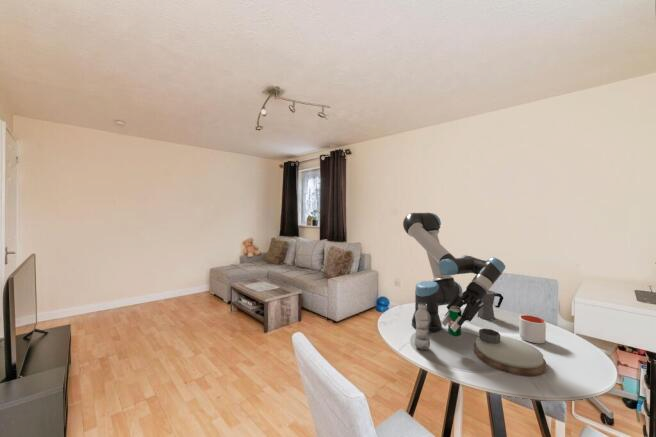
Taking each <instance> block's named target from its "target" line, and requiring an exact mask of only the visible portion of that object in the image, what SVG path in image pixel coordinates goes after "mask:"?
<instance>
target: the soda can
mask: <svg viewBox="0 0 656 437" xmlns="http://www.w3.org/2000/svg"><path fill="white" fill-rule="evenodd" d="M461 309H462V307H461V308H460V307H457V306H450V308H449V322H448V324H447V327H448V329H447V333H448V334H449V335H451V336H452V337H460V336H461V335H462V326H459V328H458V329H457V330H456V331H455V332H454V331H453V330H452V329H451V328H450V327H451V326H452V324H453V323H454V322H455V321H456V319H457V318H458V317H459V316H460V315H462V313H463V312H462V310H461ZM460 317H461V316H460Z"/></svg>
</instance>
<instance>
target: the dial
mask: <svg viewBox="0 0 656 437" xmlns="http://www.w3.org/2000/svg"><path fill="white" fill-rule="evenodd" d="M475 342H476V347H477V349H478V350H479V352H480V353H482V354H483V355H484V356H486V357H488V358H489V359H491V360H494V361H496V362H498V363H501V364H504V365H508V366H512V367H516V368H524V369H533V368H538V367H540V366H542V365H543V358H544V354H543V353H542V351H541V350H539V349H538V348H537V347H535V346H533V345H531V344H530V343H529V342H528V343H527V342H525V341H523V340H520V339H517V338H513V337H509V336H506V335H501V334H500V333H499V331H496V330H494V329H493V328H492V329H491V328H479V329H478V335H477V338H476V341H475Z"/></svg>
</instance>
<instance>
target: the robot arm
mask: <svg viewBox="0 0 656 437" xmlns="http://www.w3.org/2000/svg"><path fill="white" fill-rule="evenodd" d="M441 222H442V221H441V219H440V217H439V216H438V215H437V214H436V213H433V212H411V213H409V214H407V215H406V216H405V217H404V219H403V222H402V225H403V226H402V227H403V229H404V231H405V233H406V234H407V235H408V236H409V237H412V238H413V239H415V241H416V242H417V243H418V244H419V245H420V246H421V247H422V248H423V249H424V250H425V251H426V255H427V258H428V262H429V266H430V269H431V273H432V276H433V279H432V280H423V281H419V282H418V283H416V285H415V290H414V293H415V295H414V297H415V299H414V300H415V302H414V303H415V304H414V305H415V307H414V308H415V310H414V312H413V316H412V318H411V326H412V328H414V329H416V319H415V314H416V312H417V310H418V309H419V308H418V303H425V304H427V311H428V313H429V314H430V323H429V333H438V332H440V331H442V330H443V327H442V326H445V327H446V326H448V323H449V308H450V306H457V307H460V308H461V309H462V307H463V306H465V307H464V309H463V312H462V315H460V316H461V317H460V316H459V317H458V318H457V319H456V321H455V322H454V323H453V324H452V326H451V327H450V328H451V329H452V330H453V331H454V332H455V331H456V330H457V329H458V328H459V326H461V327H462V325H463V324H464V323H465V322H467V321H468V322H472V321H473V319H474V318H475V316H476V315H478V311H479V309H480V308H481V307H483V306H484V304H483V302H482V301H481V300H480V299H482V298H483V297H484V296H485V295H486V292H488V290H491V288H492V287H493V286H494V284H495V283H496V281H497V280H498V279H499V278H500V277H501V275H503V272H504V270H505V269H506V264H505V263H504V262H503V261H502V260H501V259H499V258H497V257H489V258H488V259H487V260H483V259H481V258H477V257H475V256H471V255H462V256H460V257H457V258H456V257H455V256H454V255H453V254H451V252H450V251H448V249H447V248H445V247H444V245H442V244H441V242H440V239H439V233H440V228H441V225H442V223H441ZM462 274H463V275H464V274H465V275H466V274H475V275H474V277H473V278H472V280H471V282H469V283H468V285H467V286H466V289H465V291H463V288H462V286H461V284H460V283H459V282H457V281H455V279H454V277H453V276H455V275H462ZM439 306H440V307H441V306H446V309H447V310H448V311H447V312H446V313H445V315H444V317H443V318H442V320H441V318H440V315H439ZM437 331H438V332H437Z"/></svg>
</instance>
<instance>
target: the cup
mask: <svg viewBox="0 0 656 437" xmlns="http://www.w3.org/2000/svg"><path fill="white" fill-rule="evenodd" d="M518 324H519V325H518V326H519V329H518V330H519V331H518V333H519V334H518V335H519V337H520V338H521V339H523V340H524V341H526V342H528V343H533V344H543V343H545V342H546V336H547V335H546V332H547V331H546V330H547V329H546V328H547V326H546V325H547V321H546V320H545V319H543V318H541V317H538V316H534V315H529V314H523V315H519V323H518Z"/></svg>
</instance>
